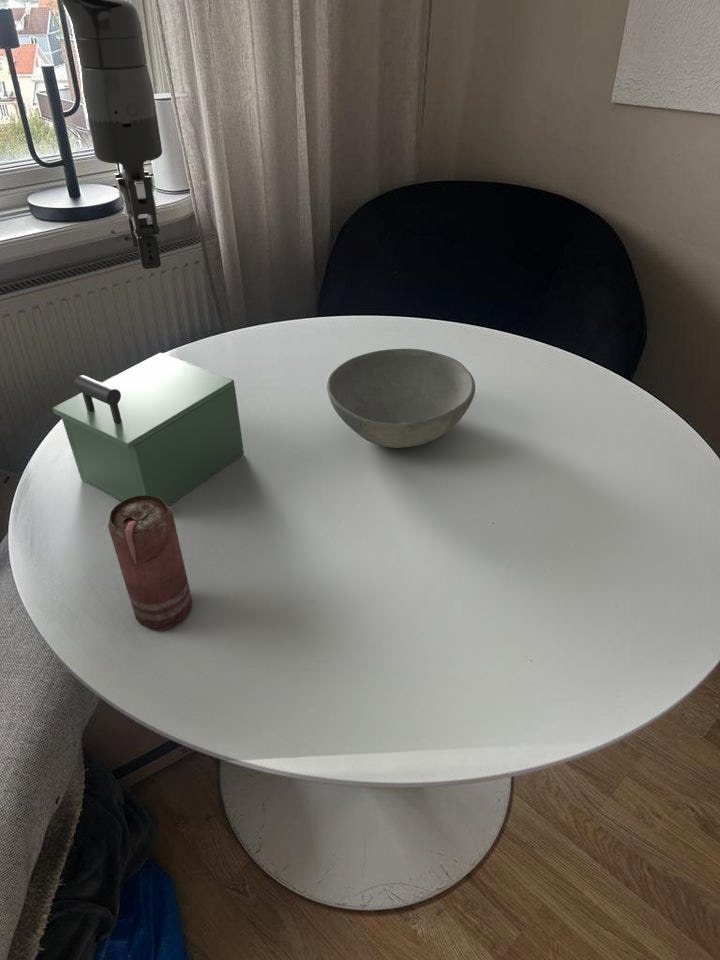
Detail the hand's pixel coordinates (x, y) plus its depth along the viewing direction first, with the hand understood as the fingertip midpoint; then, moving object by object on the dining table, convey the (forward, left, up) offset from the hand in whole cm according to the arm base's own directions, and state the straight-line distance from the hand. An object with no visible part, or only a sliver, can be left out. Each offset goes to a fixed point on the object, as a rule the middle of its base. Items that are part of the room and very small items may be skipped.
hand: (146, 256), depth 88 cm
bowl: (+31, -10, -26) cm, 42 cm away
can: (-6, -35, -26) cm, 44 cm away
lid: (-4, -8, -15) cm, 18 cm away
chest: (-3, -8, -26) cm, 28 cm away
